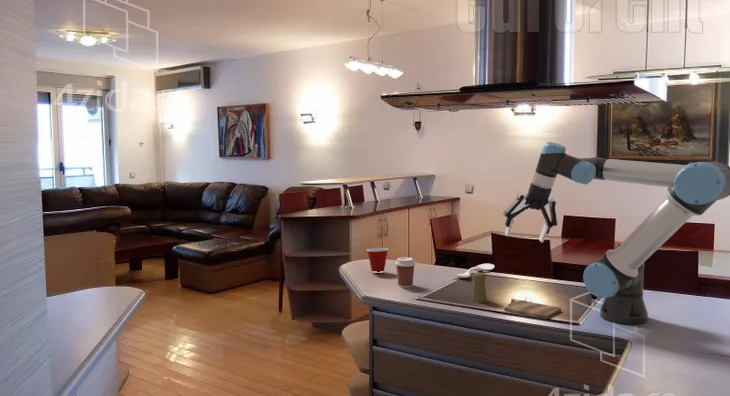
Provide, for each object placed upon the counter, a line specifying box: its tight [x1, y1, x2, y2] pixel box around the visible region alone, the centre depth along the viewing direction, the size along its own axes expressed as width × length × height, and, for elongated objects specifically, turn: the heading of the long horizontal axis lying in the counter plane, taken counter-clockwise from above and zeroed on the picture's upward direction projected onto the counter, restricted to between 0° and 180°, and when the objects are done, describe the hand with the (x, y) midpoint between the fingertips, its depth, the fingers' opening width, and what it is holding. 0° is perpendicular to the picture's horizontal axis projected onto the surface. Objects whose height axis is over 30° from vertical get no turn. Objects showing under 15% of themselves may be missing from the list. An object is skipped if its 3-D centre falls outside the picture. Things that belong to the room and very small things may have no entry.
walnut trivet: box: [503, 299, 562, 320], centre depth 200 cm, size 16×13×1 cm
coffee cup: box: [394, 256, 417, 288], centre depth 239 cm, size 9×9×12 cm
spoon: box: [449, 263, 495, 279], centre depth 261 cm, size 9×32×4 cm, turn 141°
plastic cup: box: [366, 247, 389, 272], centre depth 265 cm, size 11×11×12 cm
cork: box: [471, 272, 488, 304], centre depth 214 cm, size 6×6×11 cm
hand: (523, 237), depth 203 cm, fingers open, 13 cm apart
